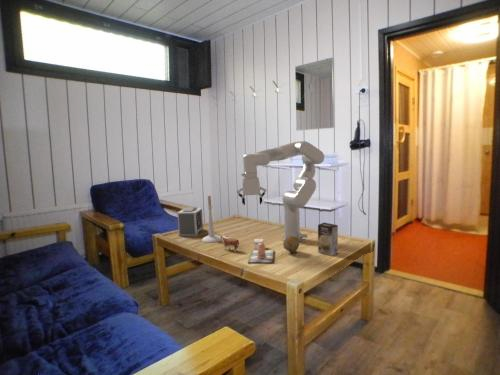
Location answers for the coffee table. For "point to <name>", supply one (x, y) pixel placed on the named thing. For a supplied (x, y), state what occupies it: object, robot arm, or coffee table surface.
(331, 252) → the coffee box
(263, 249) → the pawn
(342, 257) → the coffee table surface
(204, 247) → the coffee table surface
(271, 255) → the board
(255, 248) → the die
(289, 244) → the natural sponge
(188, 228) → the alarm clock
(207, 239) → the candlestick
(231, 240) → the bull figurine
